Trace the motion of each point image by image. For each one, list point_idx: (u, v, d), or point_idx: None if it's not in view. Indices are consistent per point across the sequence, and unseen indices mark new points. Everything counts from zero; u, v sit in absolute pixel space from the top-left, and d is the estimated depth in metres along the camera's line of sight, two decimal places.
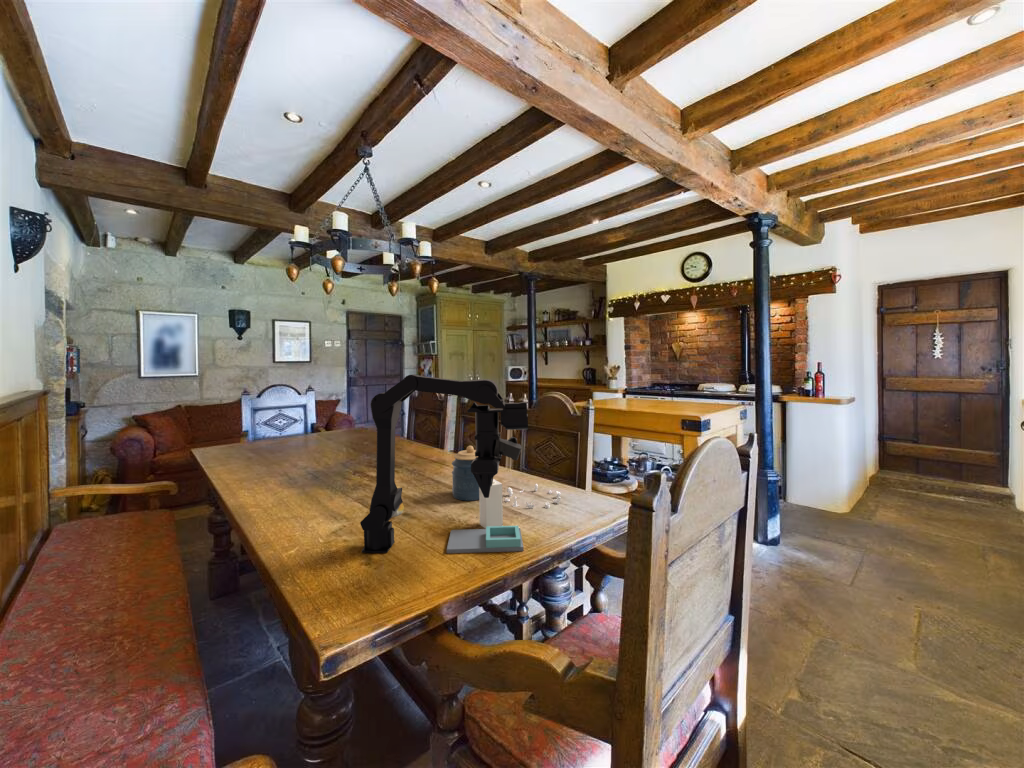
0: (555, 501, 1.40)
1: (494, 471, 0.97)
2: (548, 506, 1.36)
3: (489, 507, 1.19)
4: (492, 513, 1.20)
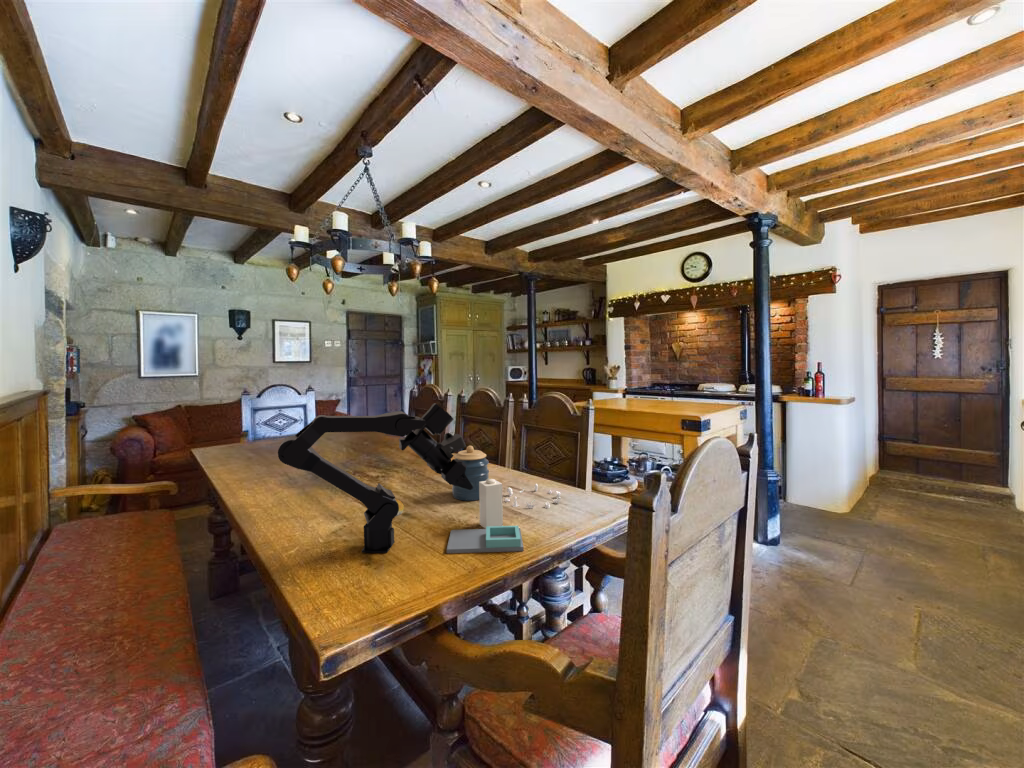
0: (555, 501, 1.40)
1: (464, 467, 1.08)
2: (548, 506, 1.36)
3: (489, 507, 1.19)
4: (492, 513, 1.20)
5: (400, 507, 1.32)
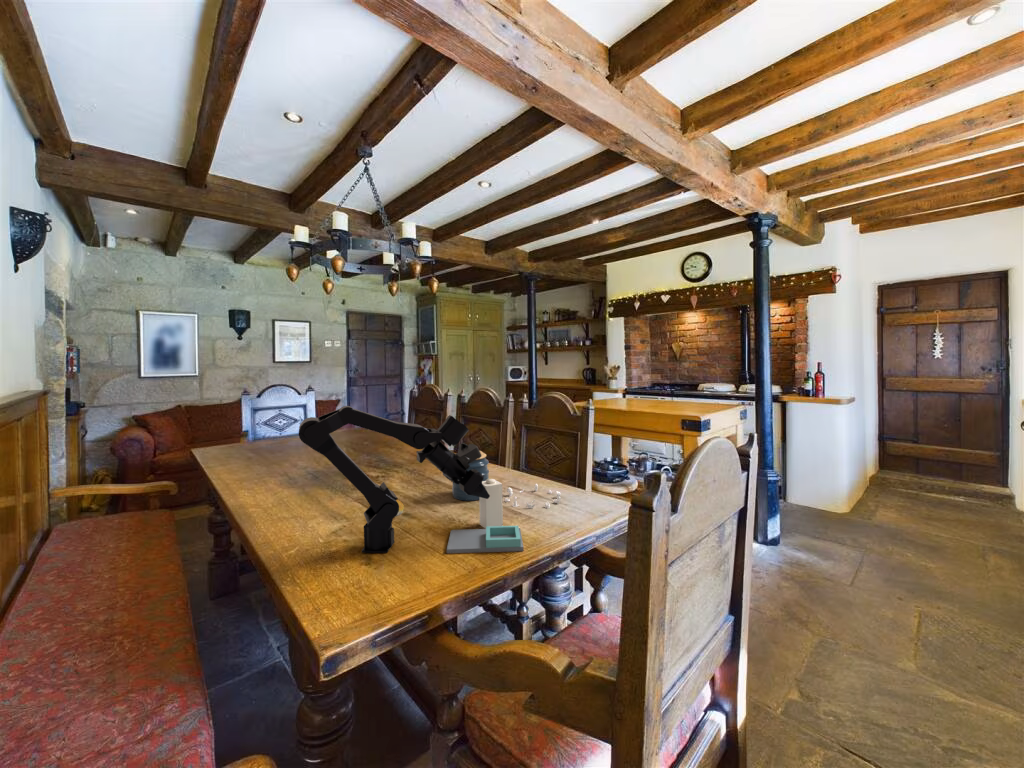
0: (555, 501, 1.40)
1: (482, 478, 1.10)
2: (548, 506, 1.36)
3: (489, 507, 1.19)
4: (492, 513, 1.20)
5: (400, 507, 1.32)
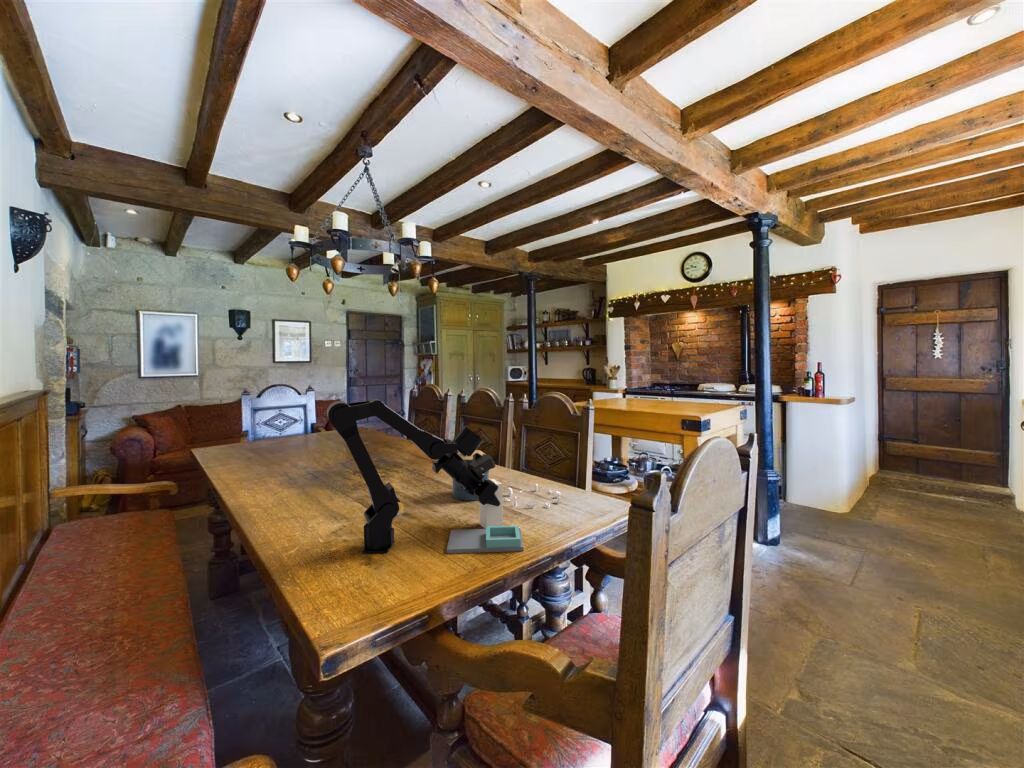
0: (555, 501, 1.40)
1: (496, 488, 1.12)
2: (548, 506, 1.36)
3: (489, 506, 1.19)
4: (492, 513, 1.20)
5: (400, 507, 1.32)
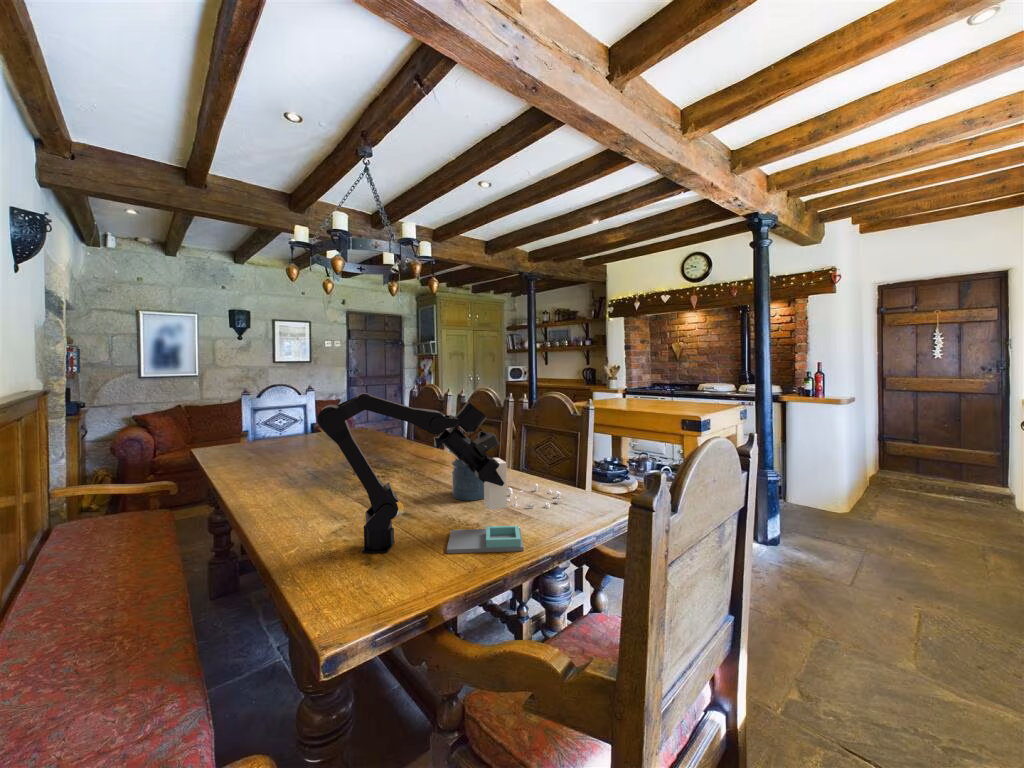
0: (555, 501, 1.40)
1: (497, 466, 1.09)
2: (548, 506, 1.36)
3: (492, 486, 1.16)
4: (495, 493, 1.16)
5: (400, 507, 1.32)
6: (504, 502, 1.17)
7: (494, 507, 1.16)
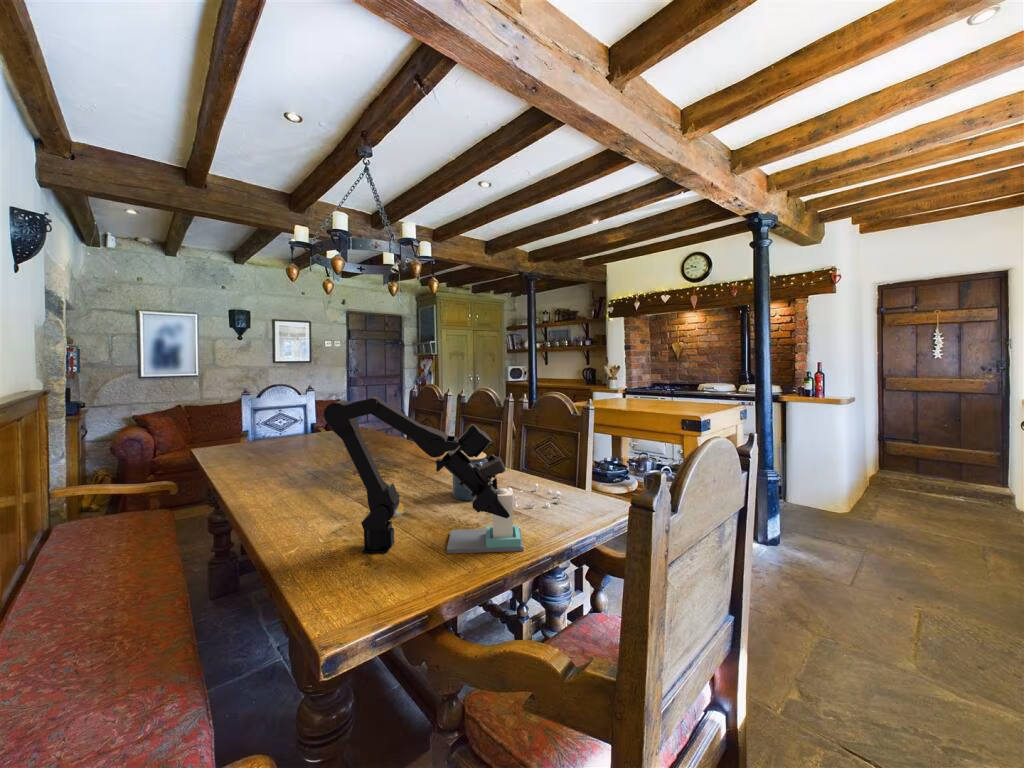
0: (555, 501, 1.40)
1: (493, 496, 1.00)
2: (548, 506, 1.36)
3: (496, 519, 1.07)
4: (500, 527, 1.07)
5: (400, 507, 1.31)
6: None
7: None
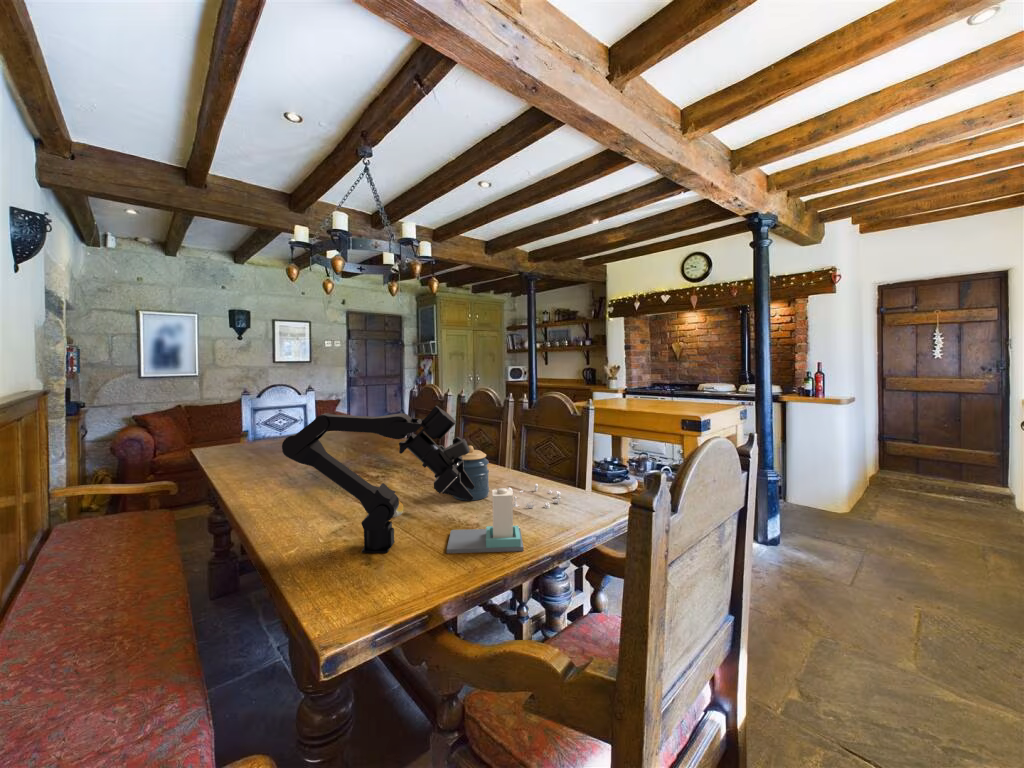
0: (555, 501, 1.40)
1: (454, 476, 0.99)
2: (548, 506, 1.36)
3: (496, 519, 1.07)
4: (500, 527, 1.07)
5: (400, 508, 1.31)
6: None
7: None
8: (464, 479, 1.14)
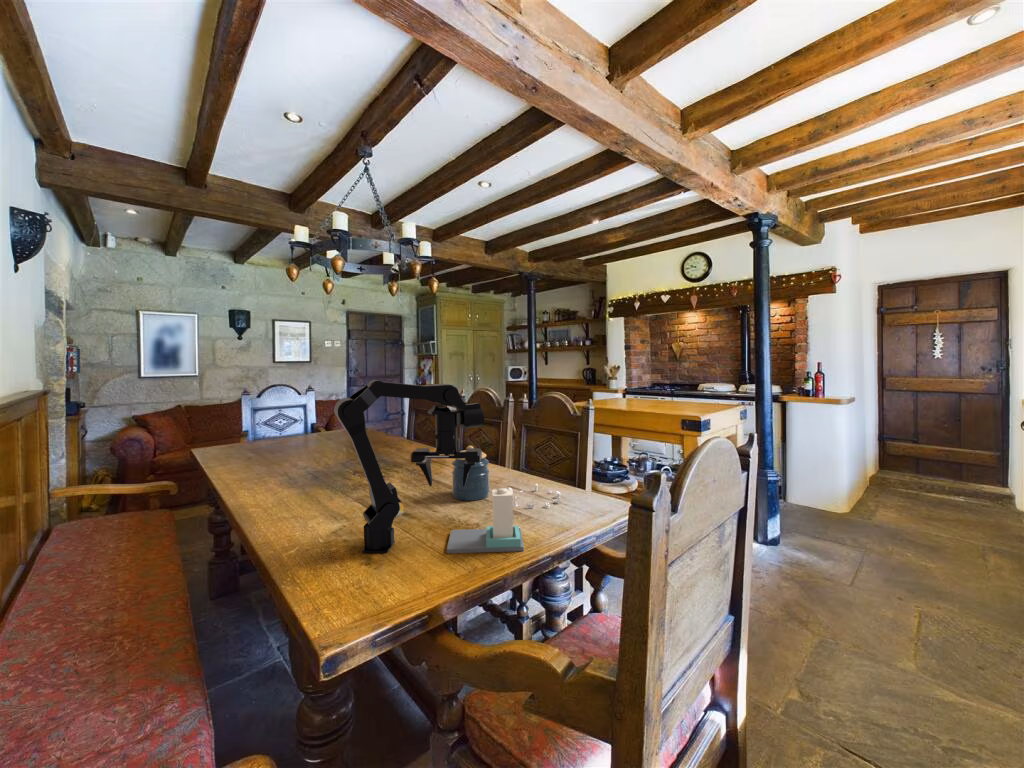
0: (555, 501, 1.40)
1: (481, 456, 1.19)
2: (548, 506, 1.36)
3: (496, 519, 1.07)
4: (500, 527, 1.07)
5: (400, 508, 1.31)
6: None
7: None
8: (430, 473, 1.17)
